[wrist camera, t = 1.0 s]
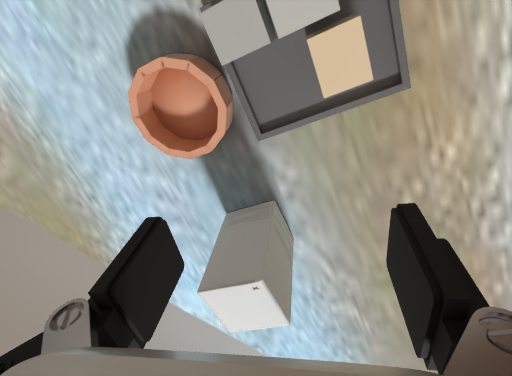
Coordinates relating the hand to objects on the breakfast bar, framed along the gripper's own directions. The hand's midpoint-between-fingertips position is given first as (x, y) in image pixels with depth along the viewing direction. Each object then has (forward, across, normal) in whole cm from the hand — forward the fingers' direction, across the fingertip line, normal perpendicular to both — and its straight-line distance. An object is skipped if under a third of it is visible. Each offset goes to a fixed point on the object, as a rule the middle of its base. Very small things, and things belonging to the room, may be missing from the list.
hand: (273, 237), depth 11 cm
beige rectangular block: (+19, -4, -4) cm, 20 cm away
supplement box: (+20, +6, +16) cm, 26 cm away
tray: (+20, -2, -5) cm, 21 cm away
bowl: (+20, +11, -2) cm, 22 cm away
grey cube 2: (+19, +3, -8) cm, 21 cm away
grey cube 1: (+19, -2, -9) cm, 21 cm away
